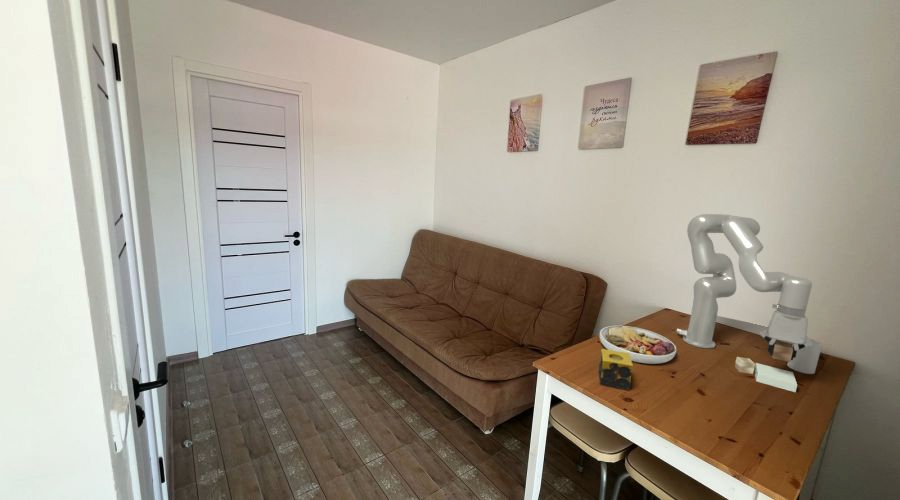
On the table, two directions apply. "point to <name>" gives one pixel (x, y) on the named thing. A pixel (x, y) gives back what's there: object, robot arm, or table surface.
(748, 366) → the birch block
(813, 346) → the white cylinder
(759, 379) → the plate
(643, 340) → the bowl
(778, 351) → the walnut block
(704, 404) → the table surface
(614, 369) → the yellow black cube
